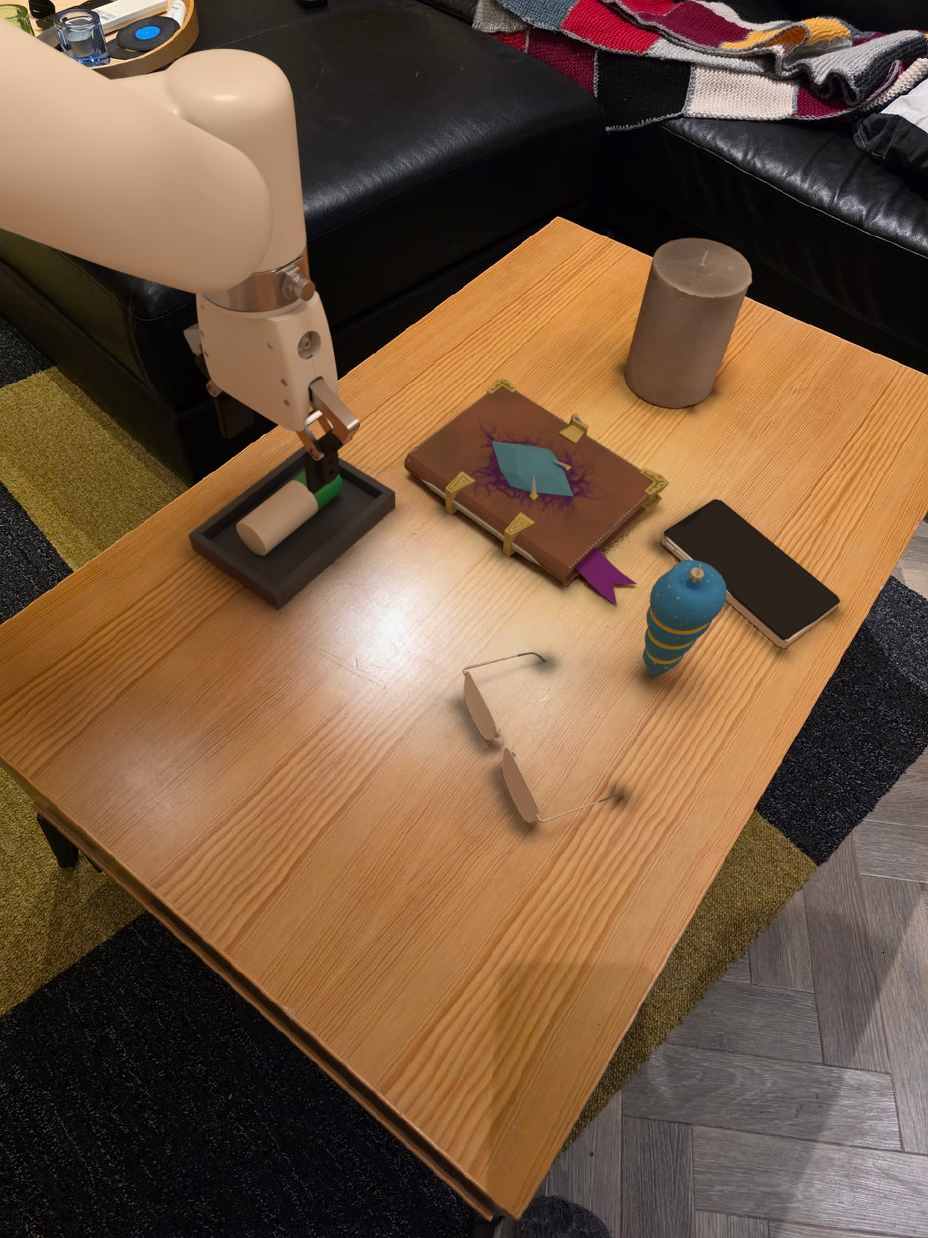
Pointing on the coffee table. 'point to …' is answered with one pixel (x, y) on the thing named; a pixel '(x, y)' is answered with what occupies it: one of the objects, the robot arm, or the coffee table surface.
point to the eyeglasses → (506, 749)
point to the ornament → (680, 613)
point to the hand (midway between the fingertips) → (280, 455)
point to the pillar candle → (686, 321)
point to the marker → (284, 513)
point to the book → (537, 484)
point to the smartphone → (752, 572)
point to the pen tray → (306, 545)
